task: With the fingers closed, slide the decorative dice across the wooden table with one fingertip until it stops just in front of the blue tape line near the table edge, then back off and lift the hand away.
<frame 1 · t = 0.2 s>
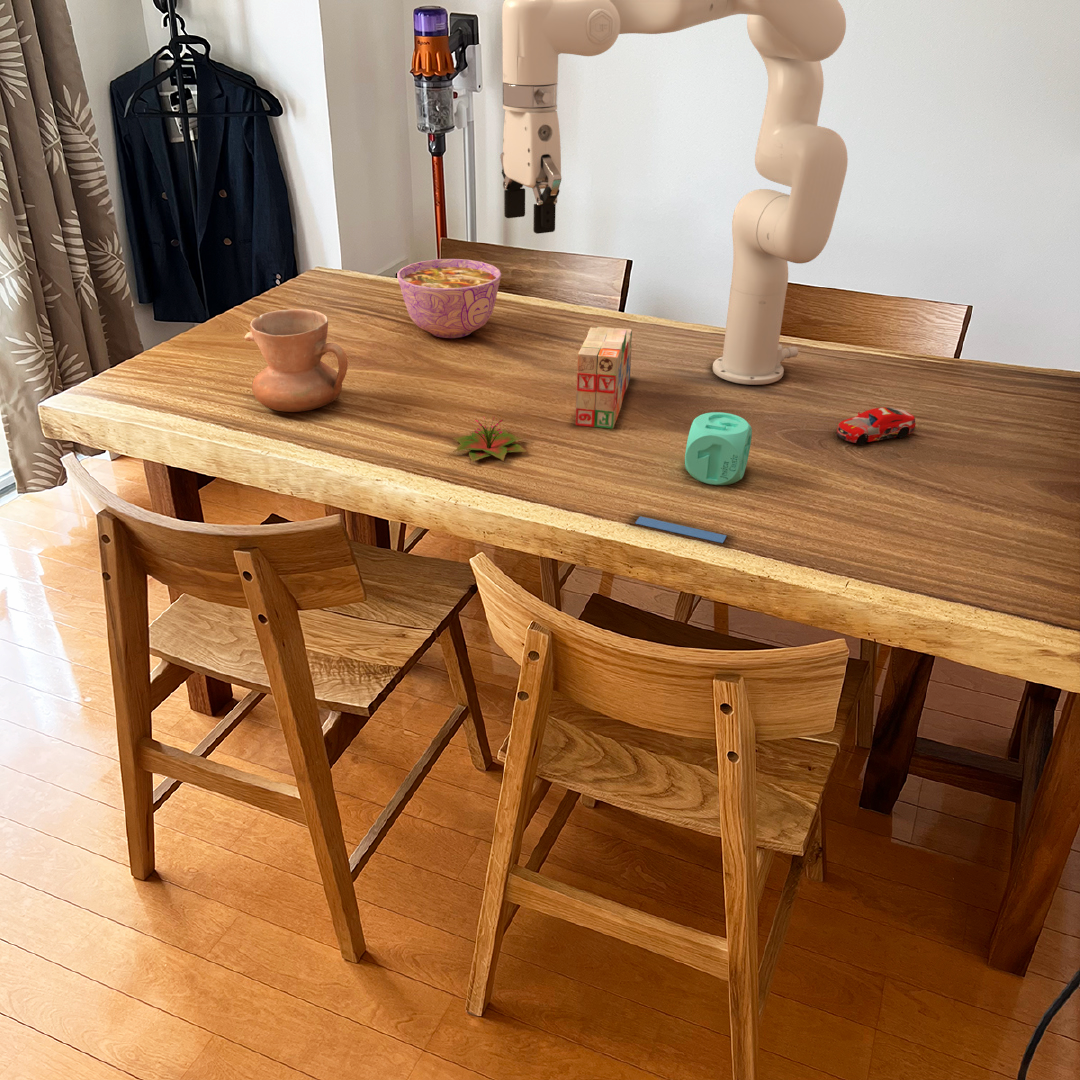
hand: (529, 224, 143), 31 cm above the table, tool pointing down, fingers open, 9 cm apart
ceramic jug: (302, 404, 164), on the table
decorative dice: (715, 474, 144), on the table
race car: (873, 436, 156), on the table
stack of blocks: (604, 402, 166), on the table
lily flower: (489, 449, 150), on the table
bowl of food: (451, 332, 194), on the table
tape line: (680, 529, 130), on the table
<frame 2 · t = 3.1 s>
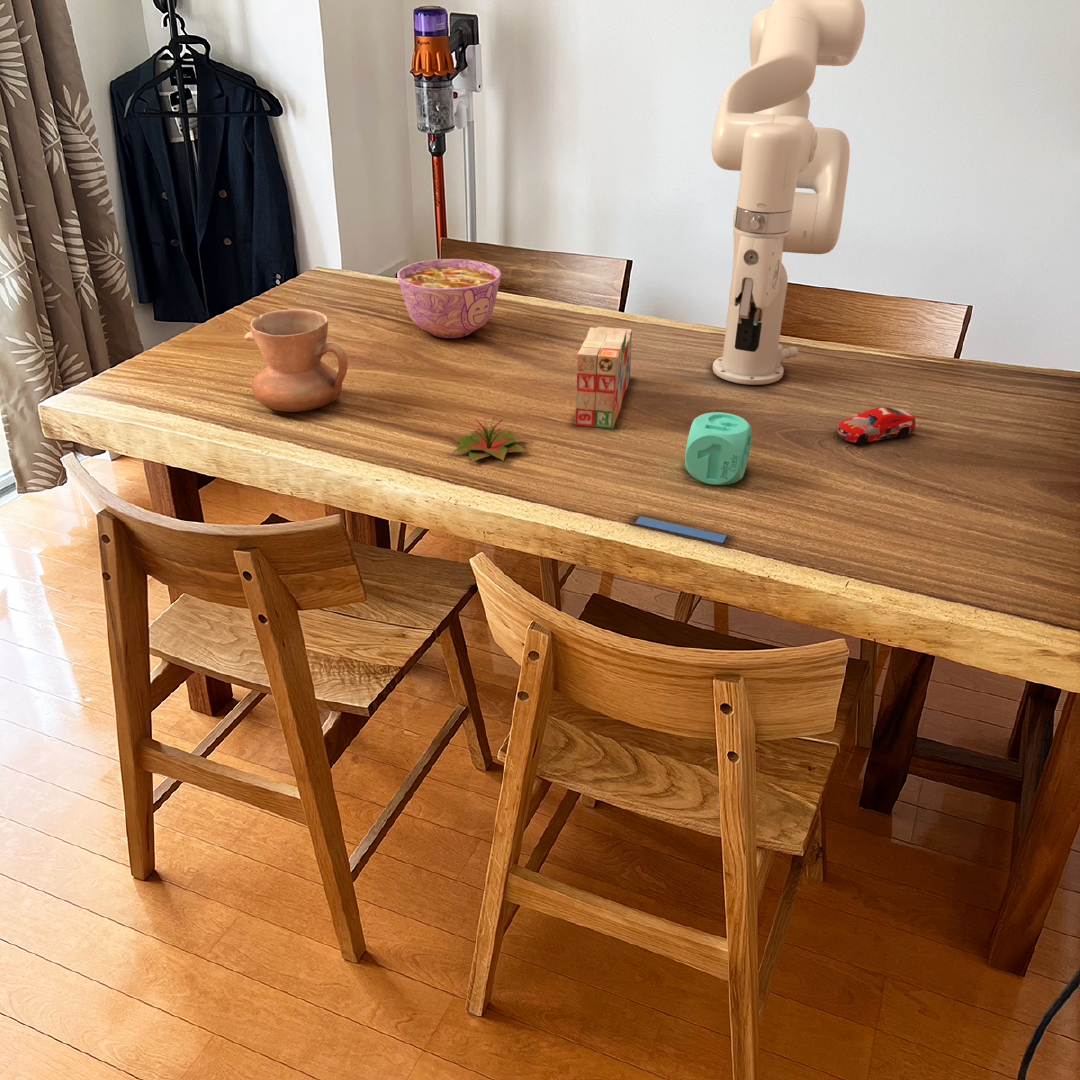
hand: (746, 348, 144), 15 cm above the table, tool pointing down, fingers closed
nothing on the table moved.
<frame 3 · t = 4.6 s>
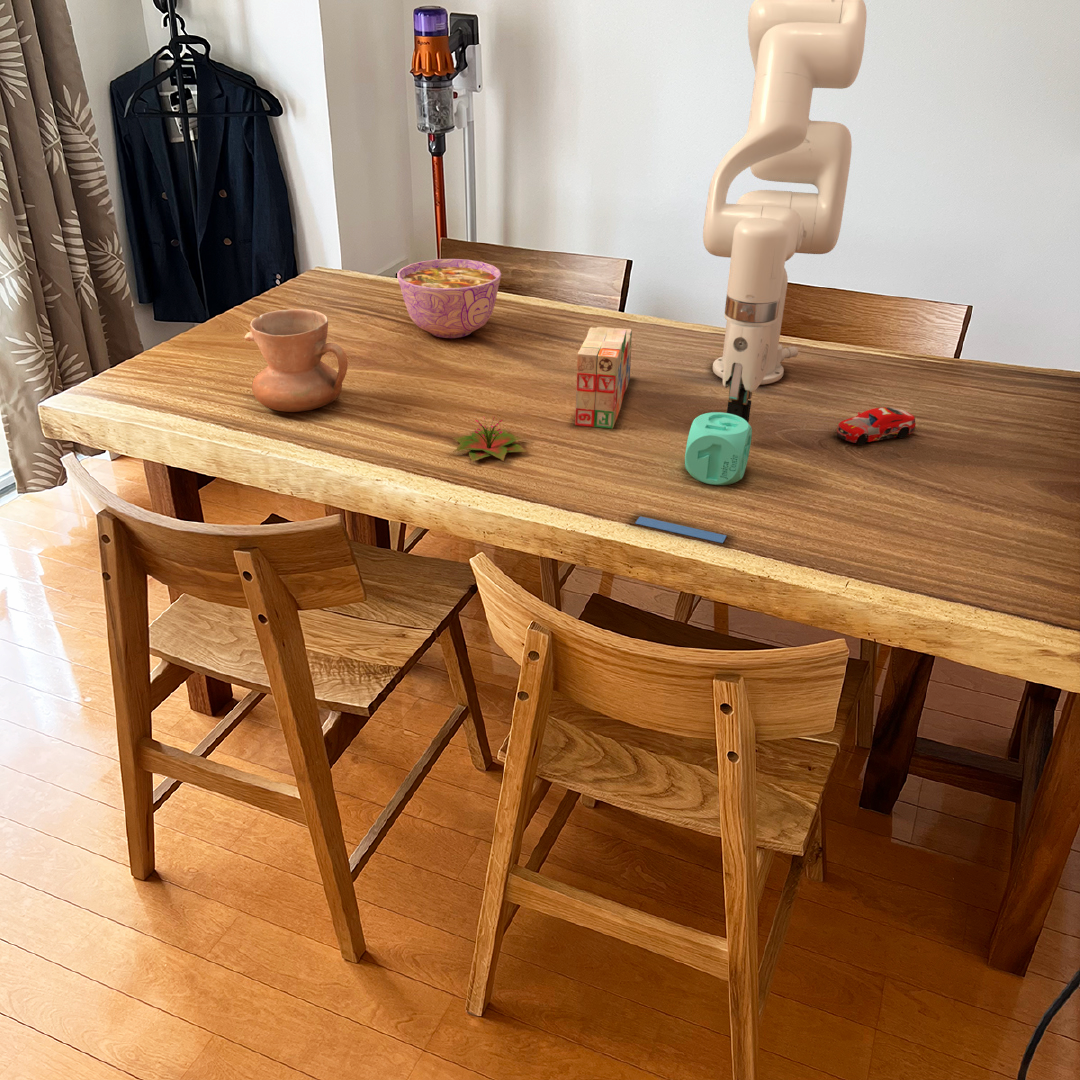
hand: (736, 424, 151), 3 cm above the table, tool pointing down, fingers closed
nothing on the table moved.
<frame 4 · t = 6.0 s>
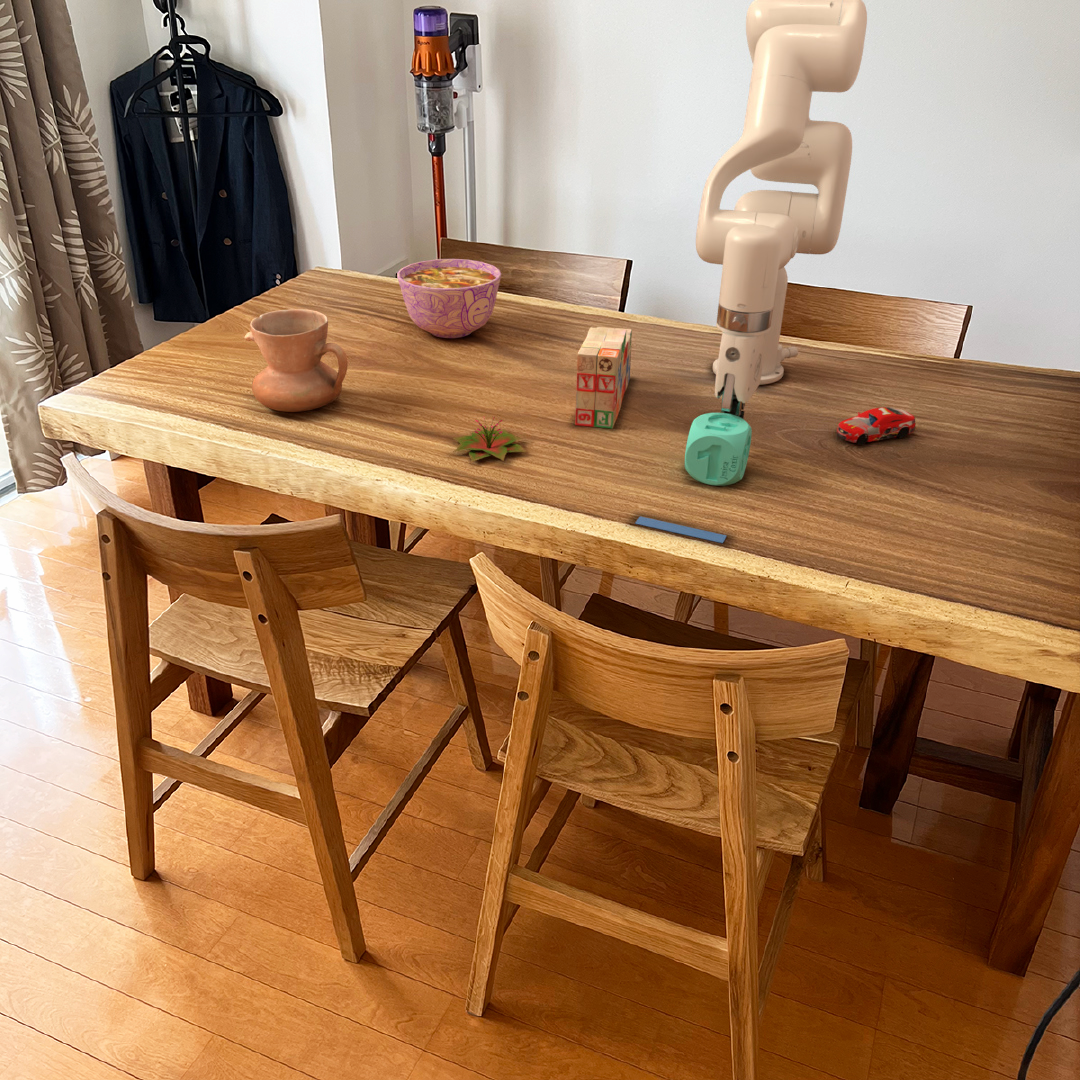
hand: (729, 435, 147), 3 cm above the table, tool pointing down, fingers closed
decorative dice: (715, 474, 144), on the table, touching gripper
everything else where it was.
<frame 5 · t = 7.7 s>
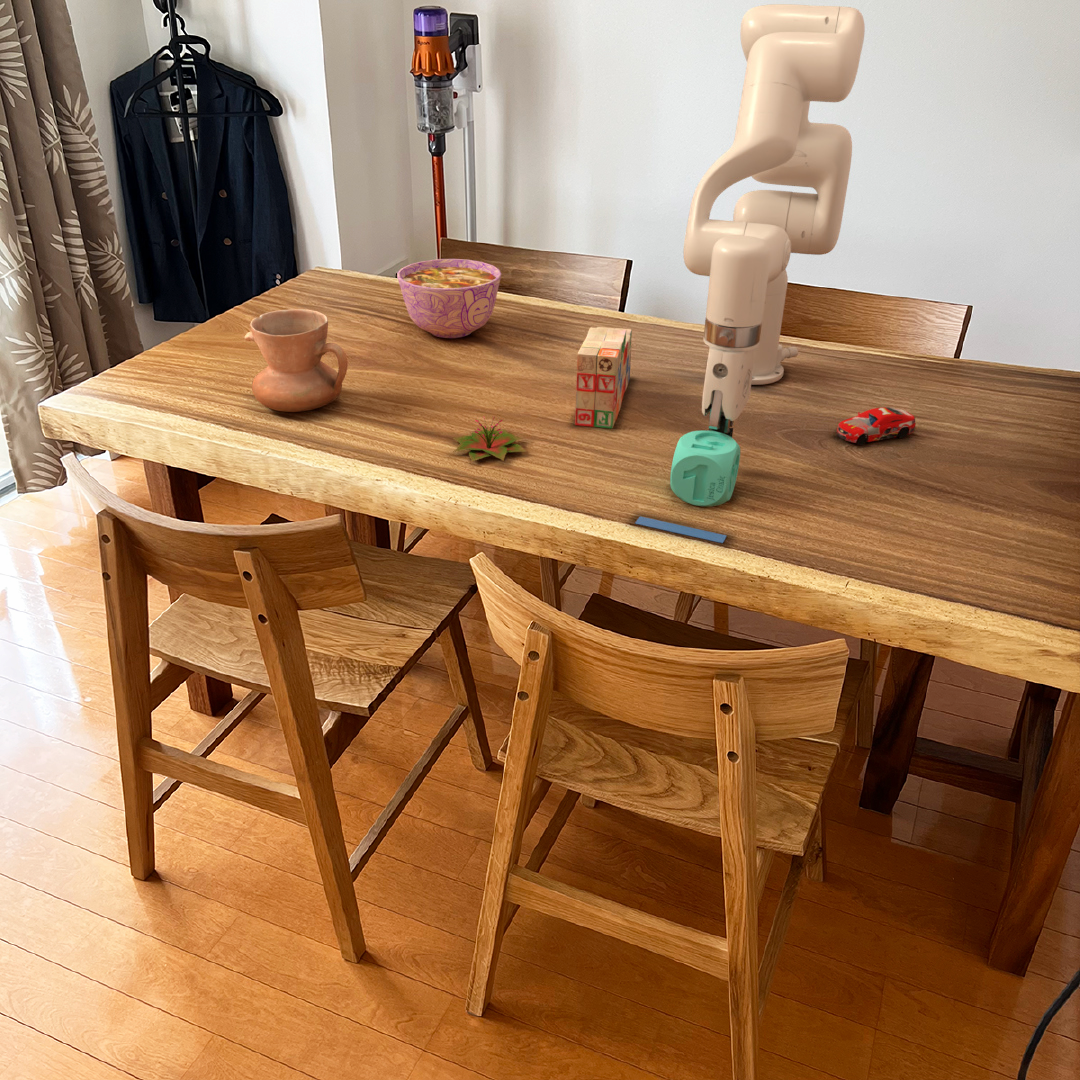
hand: (718, 453, 142), 3 cm above the table, tool pointing down, fingers closed
decorative dice: (702, 494, 139), on the table, touching gripper
everything else where it was.
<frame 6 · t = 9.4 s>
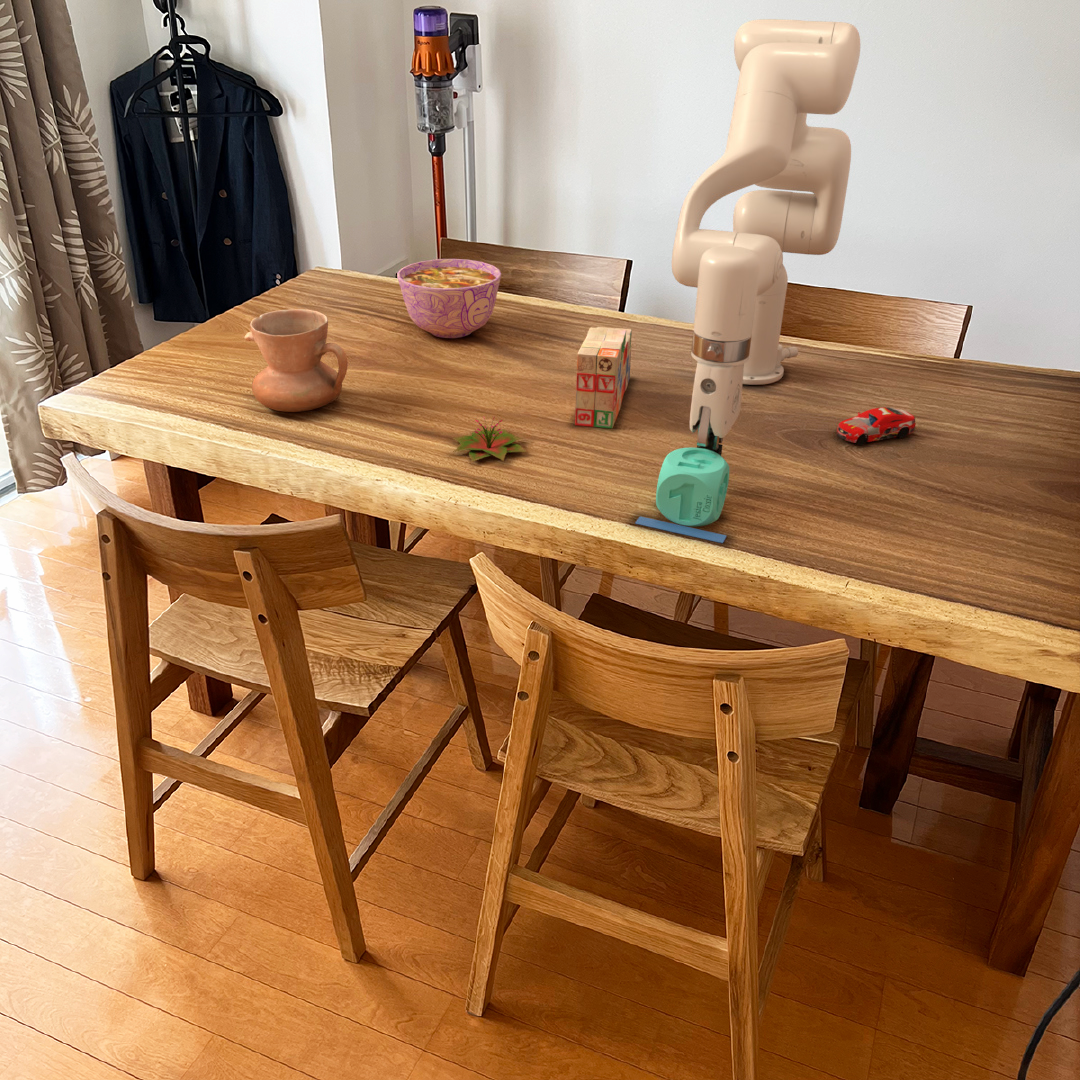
hand: (706, 470, 137), 3 cm above the table, tool pointing down, fingers closed
decorative dice: (690, 513, 134), on the table, touching gripper, tape line
everything else where it was.
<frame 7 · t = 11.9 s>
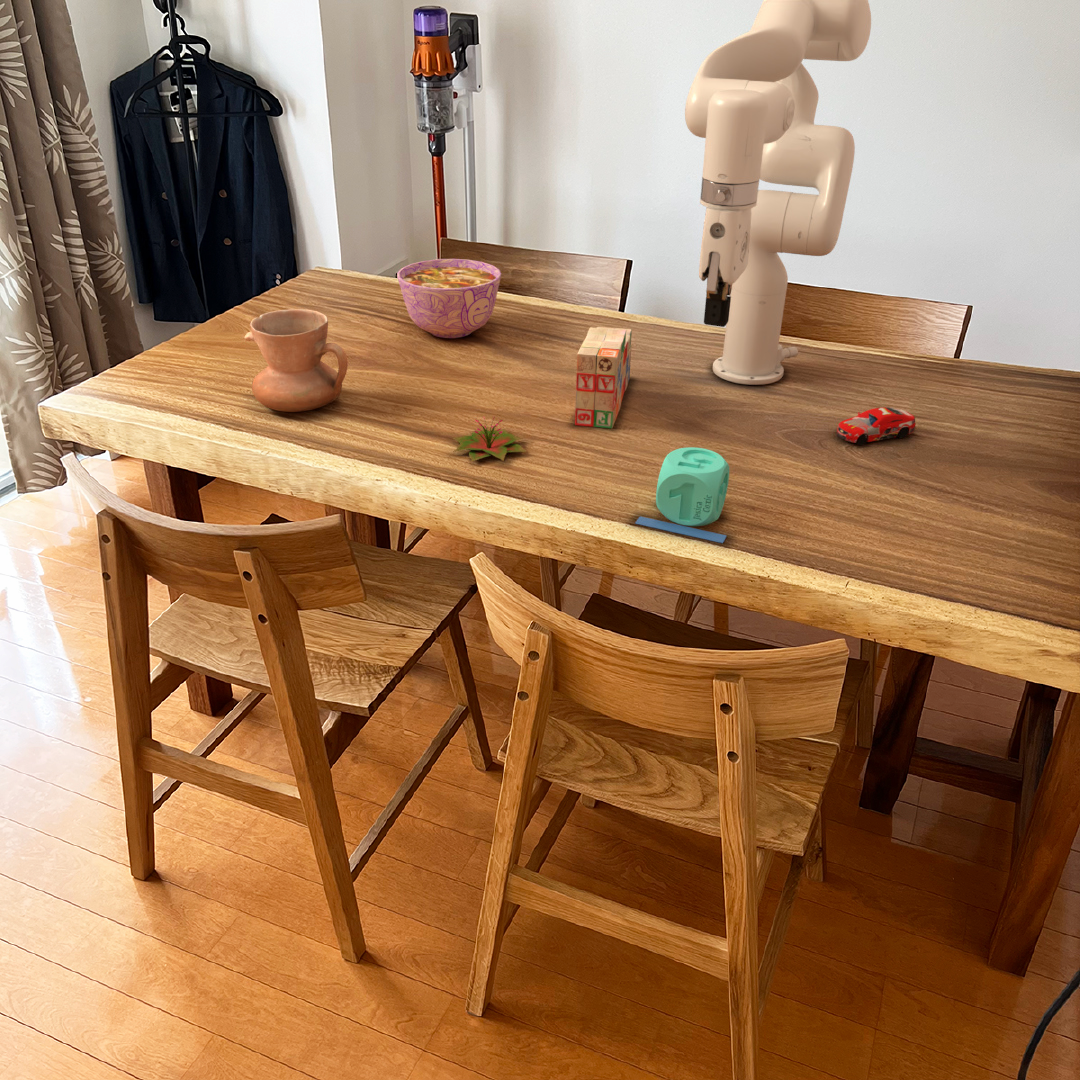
hand: (715, 323, 141), 20 cm above the table, tool pointing down, fingers closed
decorative dice: (690, 513, 134), on the table
everything else where it was.
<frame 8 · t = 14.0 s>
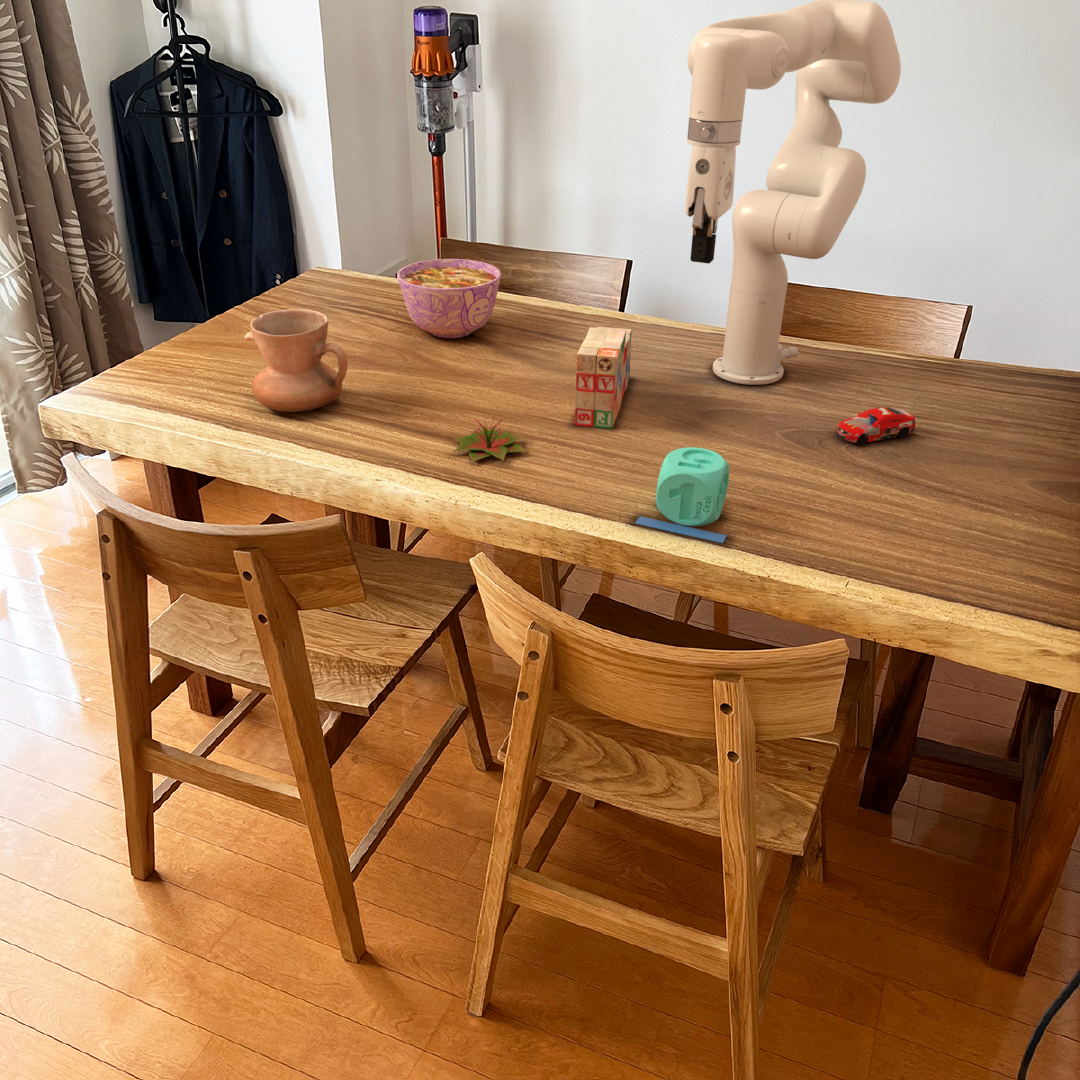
hand: (701, 260, 149), 25 cm above the table, tool pointing down, fingers closed
nothing on the table moved.
at the end: decorative dice 5.1 cm from the tape line (horizontally); decorative dice tilted 0°; decorative dice moved 12.8 cm from its start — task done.
